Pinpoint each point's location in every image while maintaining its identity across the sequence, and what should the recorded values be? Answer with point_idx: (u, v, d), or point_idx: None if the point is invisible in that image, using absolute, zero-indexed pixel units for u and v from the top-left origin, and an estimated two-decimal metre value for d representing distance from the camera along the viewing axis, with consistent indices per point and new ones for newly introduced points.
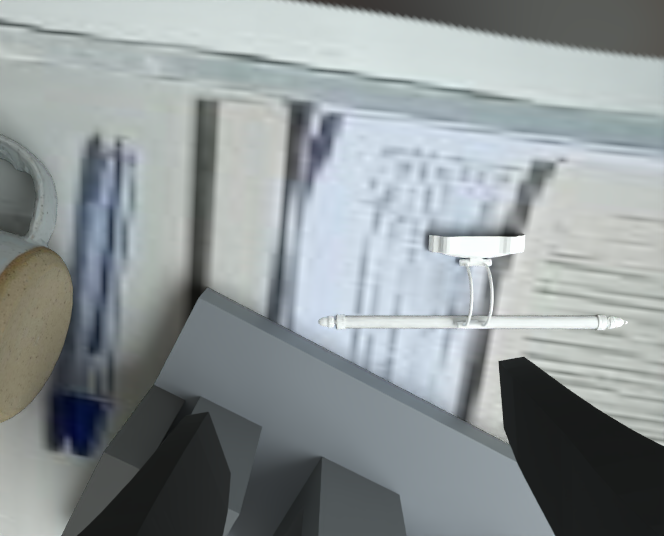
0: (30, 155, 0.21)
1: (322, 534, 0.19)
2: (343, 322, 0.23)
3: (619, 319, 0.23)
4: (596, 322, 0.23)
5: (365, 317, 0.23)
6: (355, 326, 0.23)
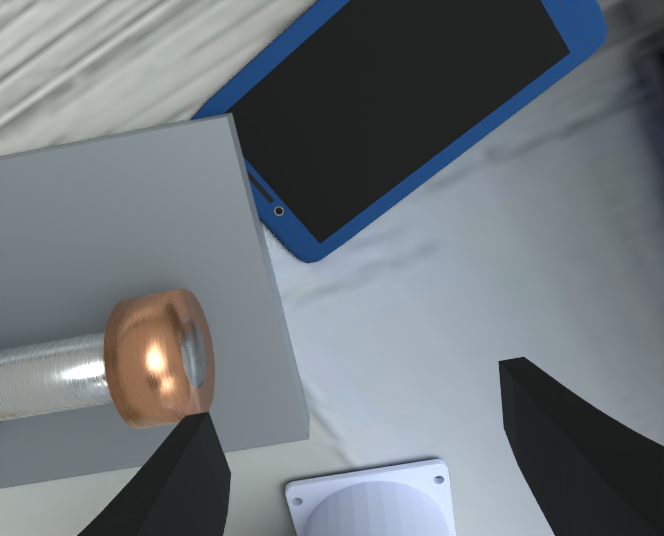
0: None
1: None
2: None
3: None
4: None
5: None
6: None
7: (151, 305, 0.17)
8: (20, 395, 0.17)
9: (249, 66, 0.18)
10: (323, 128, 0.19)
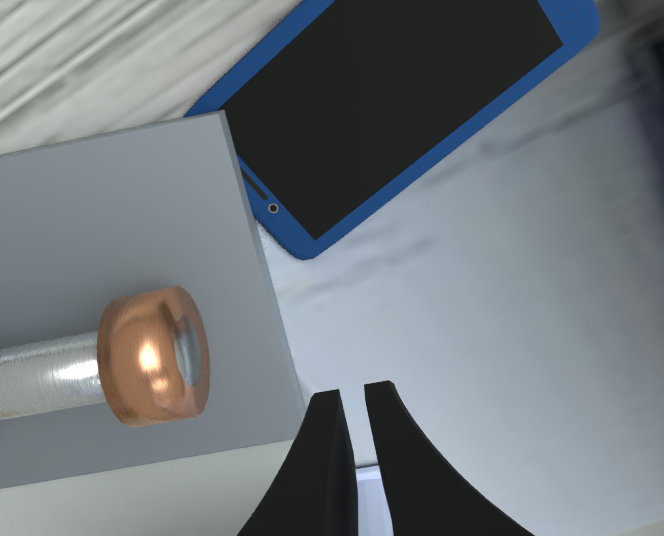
0: None
1: None
2: None
3: None
4: None
5: None
6: None
7: (144, 302, 0.17)
8: (14, 395, 0.17)
9: (240, 63, 0.18)
10: (316, 124, 0.19)
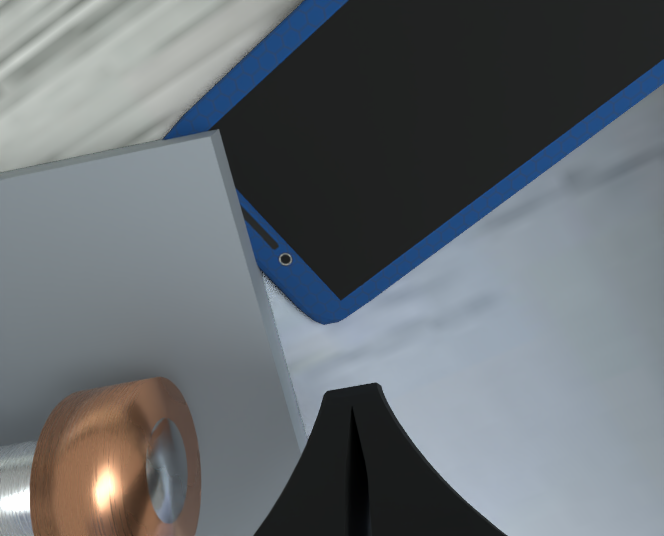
0: None
1: None
2: None
3: None
4: None
5: None
6: None
7: (104, 412, 0.11)
8: None
9: (241, 65, 0.13)
10: (345, 148, 0.14)
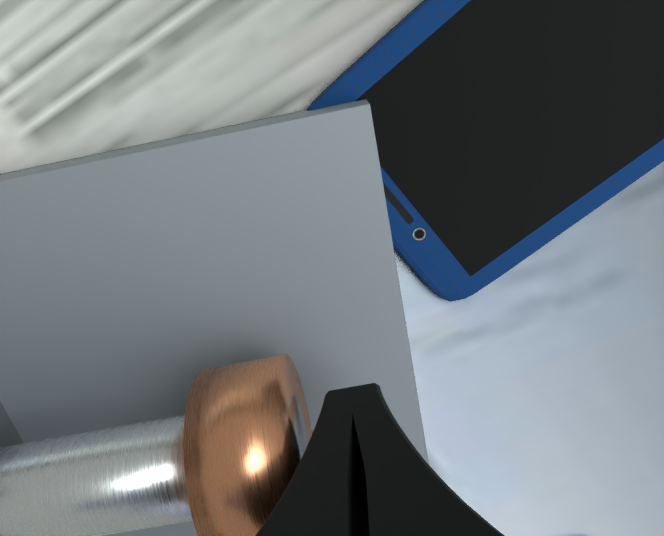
0: None
1: None
2: None
3: None
4: None
5: None
6: None
7: (248, 387, 0.11)
8: (57, 519, 0.12)
9: (395, 33, 0.13)
10: (491, 119, 0.14)
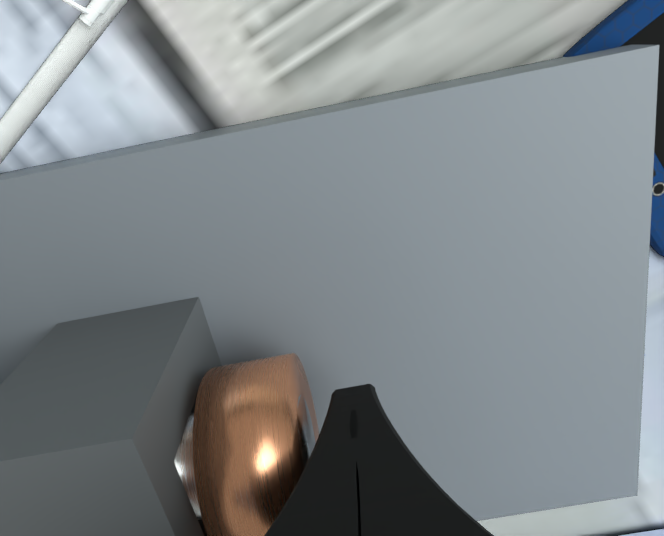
0: None
1: None
2: None
3: None
4: None
5: None
6: None
7: (257, 385, 0.11)
8: None
9: None
10: None
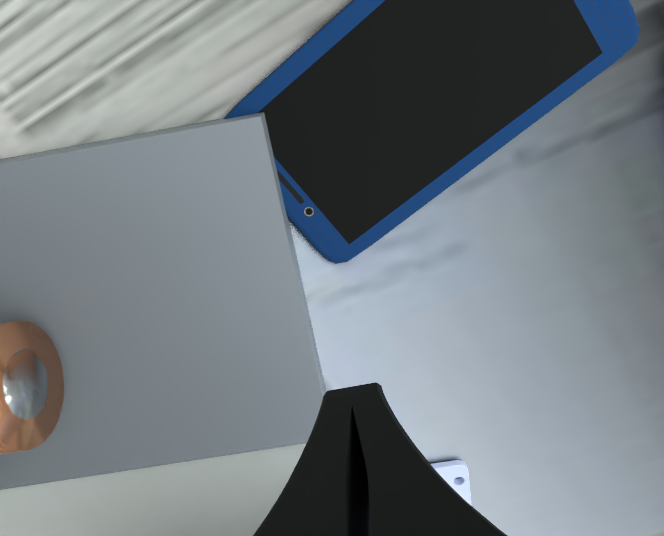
0: None
1: None
2: None
3: None
4: None
5: None
6: None
7: None
8: None
9: (282, 67, 0.18)
10: (355, 129, 0.19)
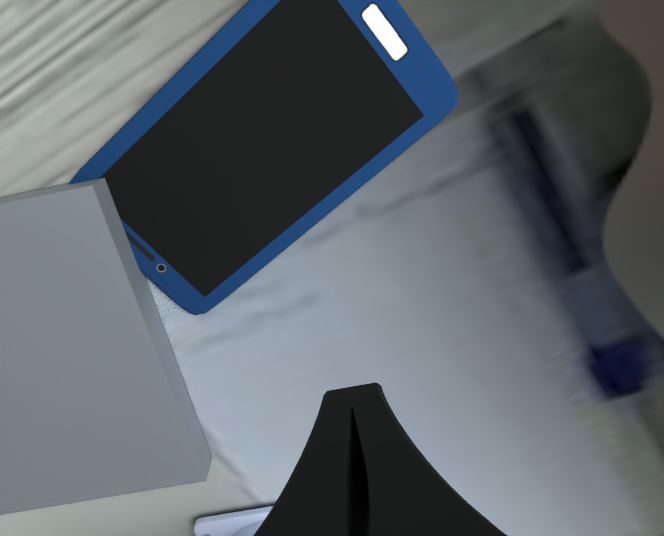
0: None
1: None
2: None
3: None
4: None
5: None
6: None
7: None
8: None
9: (116, 136, 0.19)
10: (194, 191, 0.20)
